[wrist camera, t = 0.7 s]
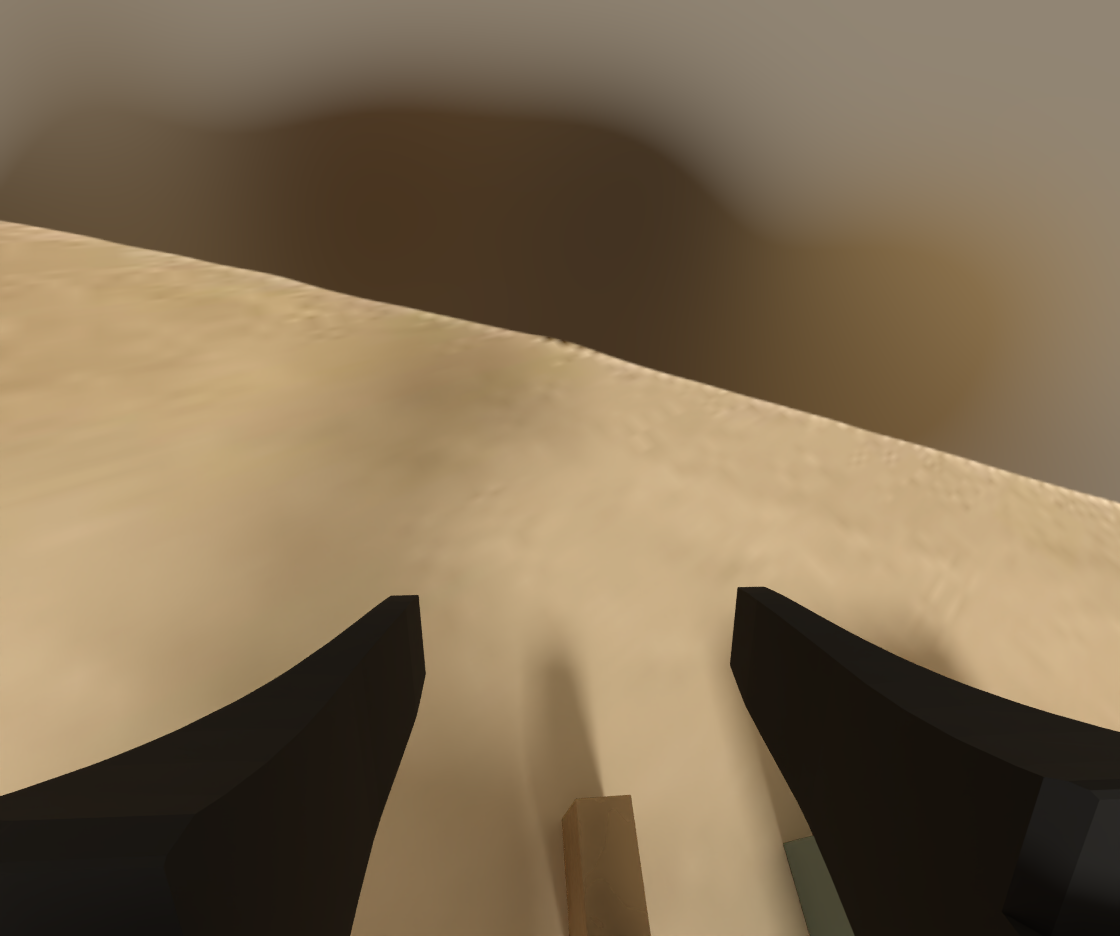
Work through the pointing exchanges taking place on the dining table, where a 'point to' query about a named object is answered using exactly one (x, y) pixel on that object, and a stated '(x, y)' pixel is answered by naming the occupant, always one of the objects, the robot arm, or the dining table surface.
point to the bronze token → (603, 869)
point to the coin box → (816, 890)
